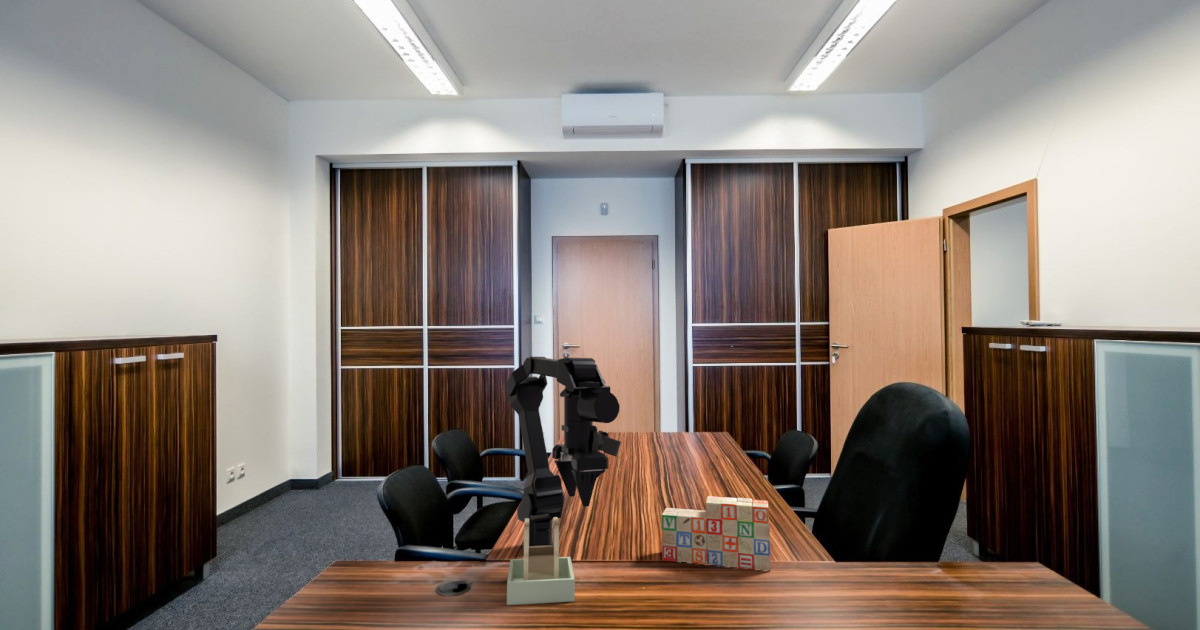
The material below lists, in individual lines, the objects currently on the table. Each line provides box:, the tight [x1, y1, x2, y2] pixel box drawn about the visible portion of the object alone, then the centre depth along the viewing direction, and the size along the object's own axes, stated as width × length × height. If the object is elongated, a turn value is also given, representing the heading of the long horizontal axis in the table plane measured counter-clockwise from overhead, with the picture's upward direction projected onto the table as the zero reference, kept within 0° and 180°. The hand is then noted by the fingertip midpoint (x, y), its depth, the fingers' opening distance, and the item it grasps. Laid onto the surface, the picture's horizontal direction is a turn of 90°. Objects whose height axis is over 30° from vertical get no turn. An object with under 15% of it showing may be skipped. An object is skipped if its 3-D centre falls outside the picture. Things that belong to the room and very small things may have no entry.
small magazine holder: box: [523, 517, 560, 580], centre depth 92 cm, size 6×6×11 cm
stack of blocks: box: [661, 495, 772, 571], centre depth 106 cm, size 21×6×12 cm, turn 73°
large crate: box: [506, 556, 576, 606], centre depth 92 cm, size 11×11×4 cm
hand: (578, 501), depth 102 cm, fingers open, 9 cm apart
